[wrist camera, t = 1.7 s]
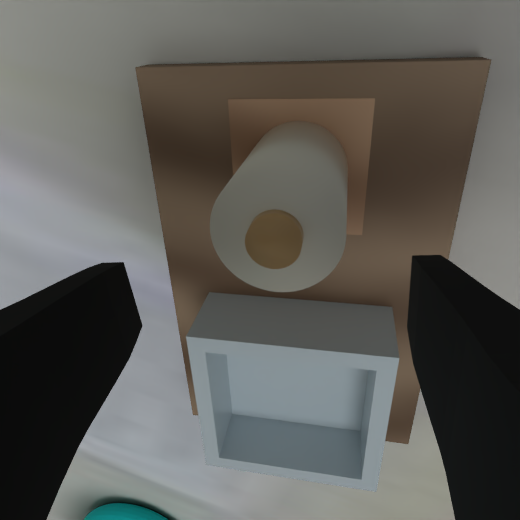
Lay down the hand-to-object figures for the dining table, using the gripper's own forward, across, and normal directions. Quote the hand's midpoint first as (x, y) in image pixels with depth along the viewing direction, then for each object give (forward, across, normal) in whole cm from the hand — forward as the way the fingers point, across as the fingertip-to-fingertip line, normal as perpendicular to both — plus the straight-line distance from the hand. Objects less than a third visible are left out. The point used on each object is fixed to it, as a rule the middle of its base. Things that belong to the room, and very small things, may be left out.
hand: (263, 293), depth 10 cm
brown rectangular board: (+10, 0, +5) cm, 11 cm away
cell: (+8, 0, -1) cm, 8 cm away
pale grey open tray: (+8, 0, +10) cm, 13 cm away
